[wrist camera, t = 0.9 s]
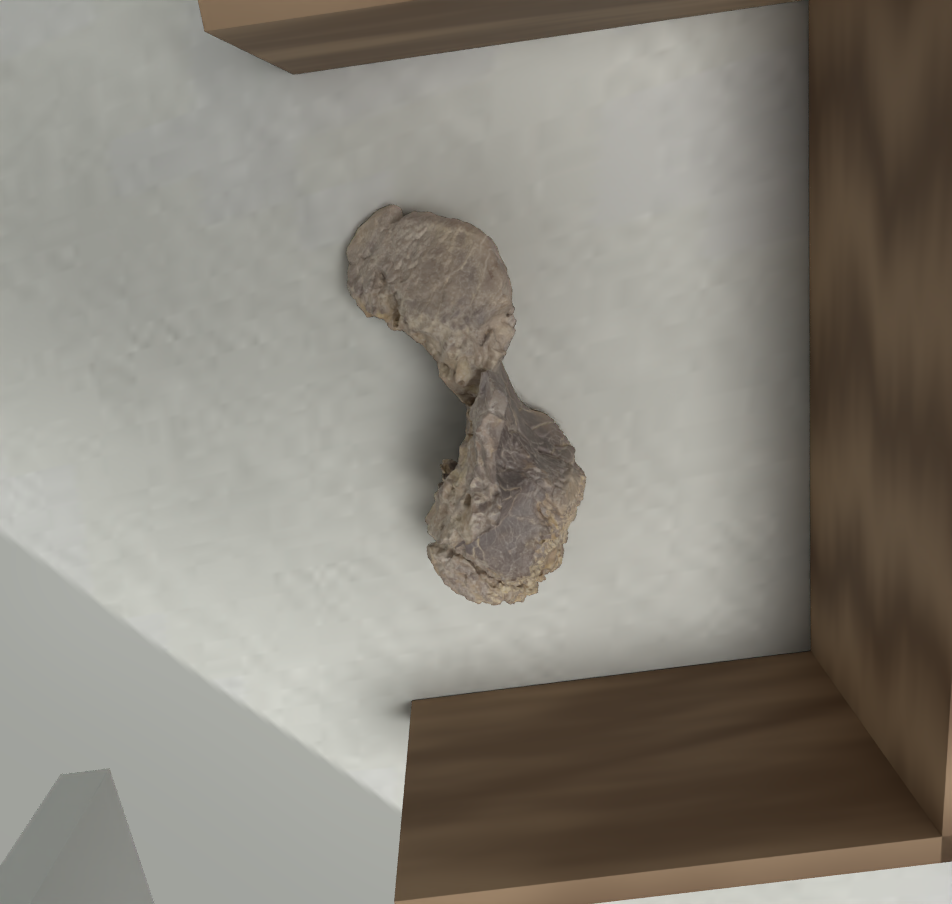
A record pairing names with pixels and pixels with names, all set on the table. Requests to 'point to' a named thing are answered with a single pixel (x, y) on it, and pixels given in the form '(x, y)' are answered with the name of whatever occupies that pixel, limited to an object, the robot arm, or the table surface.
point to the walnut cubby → (831, 526)
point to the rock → (472, 403)
